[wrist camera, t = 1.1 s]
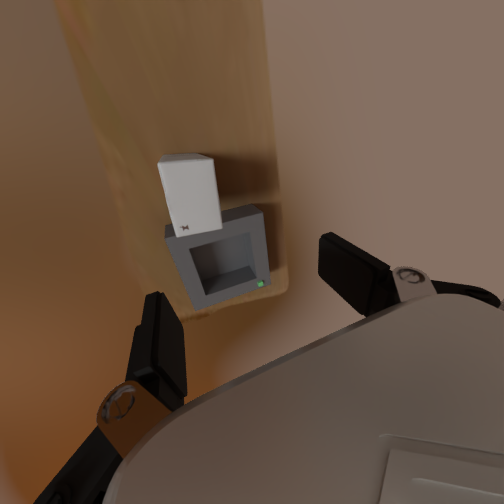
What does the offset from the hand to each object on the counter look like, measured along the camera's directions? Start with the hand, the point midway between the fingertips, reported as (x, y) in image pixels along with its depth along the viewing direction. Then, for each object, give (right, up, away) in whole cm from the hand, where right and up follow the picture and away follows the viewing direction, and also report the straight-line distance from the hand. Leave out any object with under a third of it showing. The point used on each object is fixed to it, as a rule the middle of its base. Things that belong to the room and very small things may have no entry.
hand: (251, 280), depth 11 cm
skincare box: (-9, +11, +14) cm, 20 cm away
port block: (-5, +2, +21) cm, 22 cm away
